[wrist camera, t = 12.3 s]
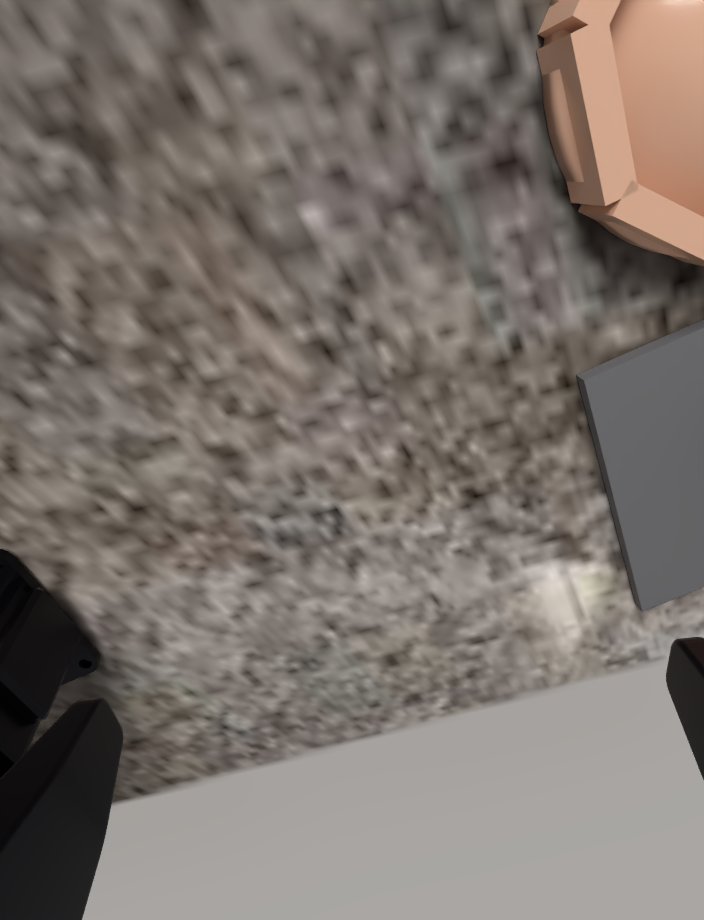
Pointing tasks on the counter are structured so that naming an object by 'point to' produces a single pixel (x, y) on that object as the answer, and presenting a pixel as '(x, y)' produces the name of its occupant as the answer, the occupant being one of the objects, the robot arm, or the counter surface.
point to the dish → (630, 116)
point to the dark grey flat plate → (654, 459)
